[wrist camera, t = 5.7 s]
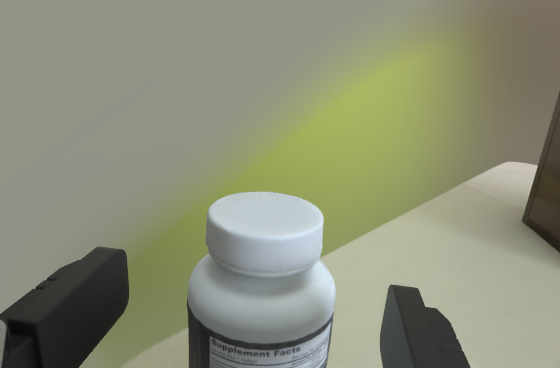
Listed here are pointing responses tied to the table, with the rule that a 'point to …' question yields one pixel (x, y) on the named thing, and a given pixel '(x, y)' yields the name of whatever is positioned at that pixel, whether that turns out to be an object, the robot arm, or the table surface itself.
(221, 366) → the pill bottle
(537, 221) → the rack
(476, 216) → the table surface
